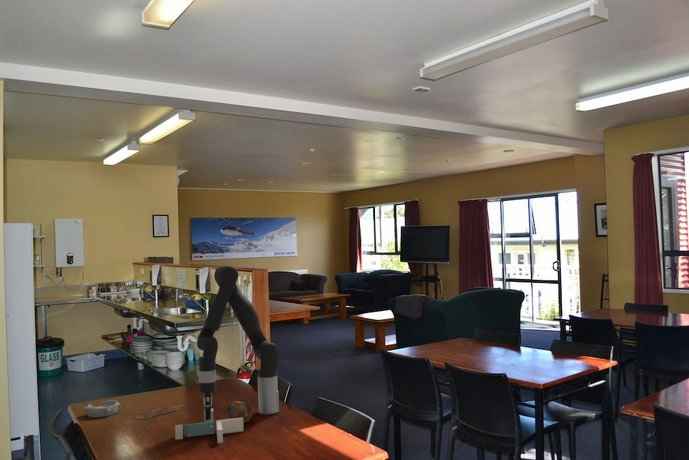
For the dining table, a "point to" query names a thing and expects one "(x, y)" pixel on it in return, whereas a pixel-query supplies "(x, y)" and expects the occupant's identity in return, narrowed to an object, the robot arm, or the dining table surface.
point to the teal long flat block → (199, 429)
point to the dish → (103, 409)
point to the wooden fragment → (158, 412)
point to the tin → (240, 410)
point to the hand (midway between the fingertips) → (207, 416)
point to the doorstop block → (211, 416)
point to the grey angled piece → (217, 428)
